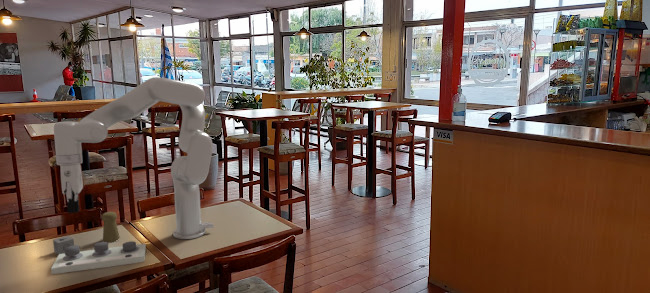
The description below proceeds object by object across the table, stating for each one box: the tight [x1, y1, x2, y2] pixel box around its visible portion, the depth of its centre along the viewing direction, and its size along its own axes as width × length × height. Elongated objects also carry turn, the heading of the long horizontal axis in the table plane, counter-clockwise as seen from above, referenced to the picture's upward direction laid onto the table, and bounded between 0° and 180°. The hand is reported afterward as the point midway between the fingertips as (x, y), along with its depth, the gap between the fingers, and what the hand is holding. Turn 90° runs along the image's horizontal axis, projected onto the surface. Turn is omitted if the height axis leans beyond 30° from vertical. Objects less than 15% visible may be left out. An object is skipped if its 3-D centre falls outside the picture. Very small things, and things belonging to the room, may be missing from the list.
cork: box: [101, 211, 121, 243], centre depth 173 cm, size 6×6×11 cm
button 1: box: [65, 244, 81, 256], centre depth 153 cm, size 4×4×2 cm
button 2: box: [122, 240, 137, 252], centre depth 159 cm, size 4×4×2 cm
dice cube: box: [52, 235, 75, 256], centre depth 162 cm, size 5×5×5 cm
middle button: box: [93, 241, 109, 252], centre depth 156 cm, size 4×4×2 cm
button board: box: [50, 243, 147, 275], centre depth 155 cm, size 28×12×2 cm, turn 109°
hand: (73, 212), depth 151 cm, fingers closed
